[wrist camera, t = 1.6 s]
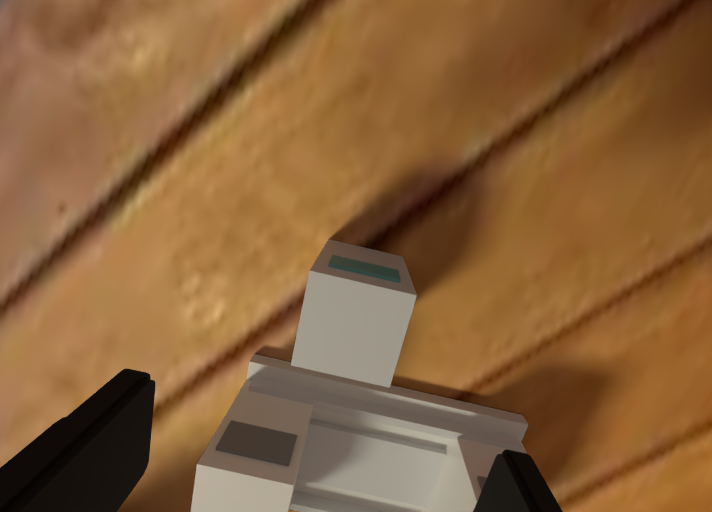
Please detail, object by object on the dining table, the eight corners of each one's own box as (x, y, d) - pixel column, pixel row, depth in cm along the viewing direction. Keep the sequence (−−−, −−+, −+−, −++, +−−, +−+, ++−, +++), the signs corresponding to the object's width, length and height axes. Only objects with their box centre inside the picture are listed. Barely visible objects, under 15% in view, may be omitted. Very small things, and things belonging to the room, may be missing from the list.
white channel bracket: (522, 415, 25) (591, 527, 17) (471, 535, 28) (510, 677, 20) (254, 353, 24) (199, 440, 17) (232, 482, 27) (178, 605, 20)
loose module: (403, 253, 22) (417, 291, 15) (384, 324, 23) (389, 387, 17) (329, 236, 22) (310, 266, 15) (313, 308, 23) (290, 365, 17)
